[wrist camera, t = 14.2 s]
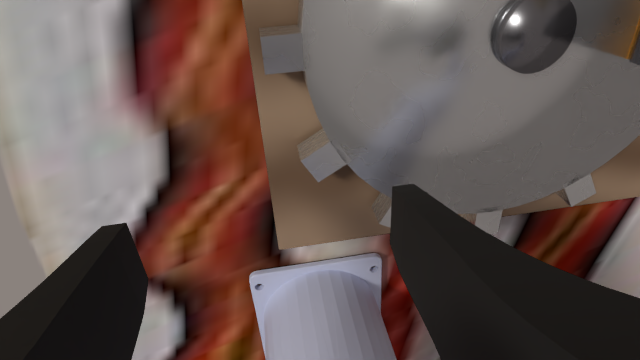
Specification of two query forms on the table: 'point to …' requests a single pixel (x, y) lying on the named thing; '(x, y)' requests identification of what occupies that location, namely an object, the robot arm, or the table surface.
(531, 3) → the sprocket wheel
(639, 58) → the brushed metal cube
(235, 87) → the table surface
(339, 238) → the base
